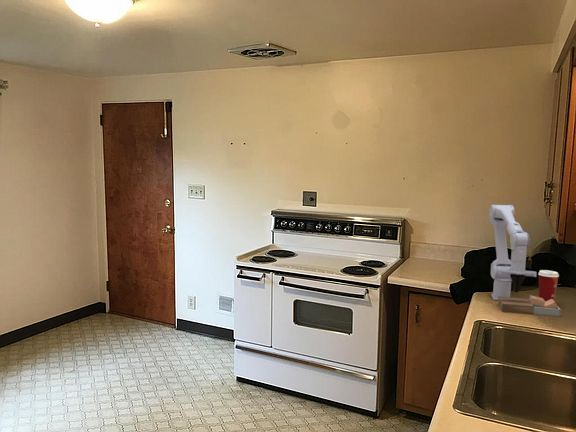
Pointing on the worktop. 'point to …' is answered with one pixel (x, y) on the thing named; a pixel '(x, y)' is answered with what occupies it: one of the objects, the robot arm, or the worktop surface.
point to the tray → (546, 311)
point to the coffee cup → (547, 284)
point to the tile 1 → (537, 301)
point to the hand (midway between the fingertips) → (516, 291)
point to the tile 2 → (550, 304)
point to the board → (515, 305)
